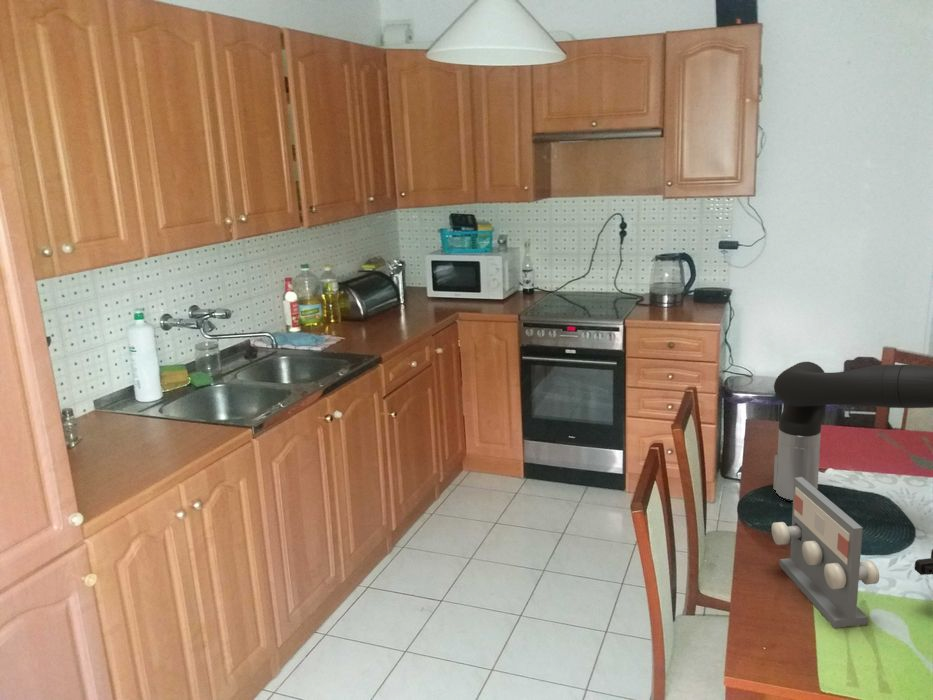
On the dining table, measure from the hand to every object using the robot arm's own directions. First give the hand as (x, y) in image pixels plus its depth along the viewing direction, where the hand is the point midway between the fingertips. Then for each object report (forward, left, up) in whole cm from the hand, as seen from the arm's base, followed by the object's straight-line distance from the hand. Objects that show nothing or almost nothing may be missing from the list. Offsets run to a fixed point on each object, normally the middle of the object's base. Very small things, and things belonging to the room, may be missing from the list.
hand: (917, 567), depth 137 cm
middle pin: (-11, -10, -2) cm, 15 cm away
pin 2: (-3, -12, -2) cm, 13 cm away
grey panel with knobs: (-11, -11, -9) cm, 18 cm away
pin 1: (-19, -10, -2) cm, 22 cm away
